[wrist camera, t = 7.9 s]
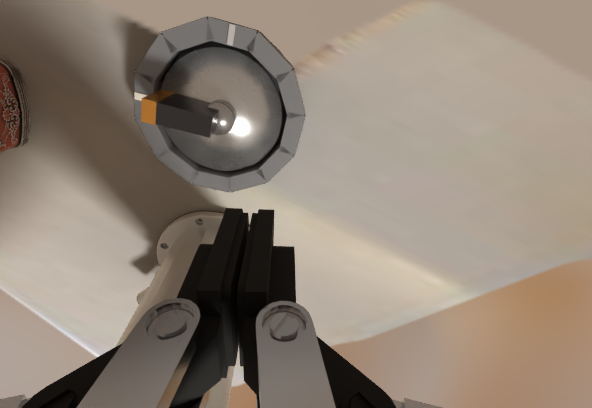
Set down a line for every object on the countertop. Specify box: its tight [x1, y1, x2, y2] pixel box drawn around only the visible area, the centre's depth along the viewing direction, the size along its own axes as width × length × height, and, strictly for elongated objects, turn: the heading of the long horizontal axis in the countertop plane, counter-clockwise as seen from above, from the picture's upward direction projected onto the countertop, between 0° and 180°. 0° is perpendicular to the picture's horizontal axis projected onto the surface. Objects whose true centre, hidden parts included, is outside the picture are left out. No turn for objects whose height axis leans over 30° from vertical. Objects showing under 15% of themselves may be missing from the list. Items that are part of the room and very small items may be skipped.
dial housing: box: [134, 17, 305, 192], centre depth 27 cm, size 14×14×3 cm
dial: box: [141, 47, 282, 171], centre depth 25 cm, size 10×10×5 cm
